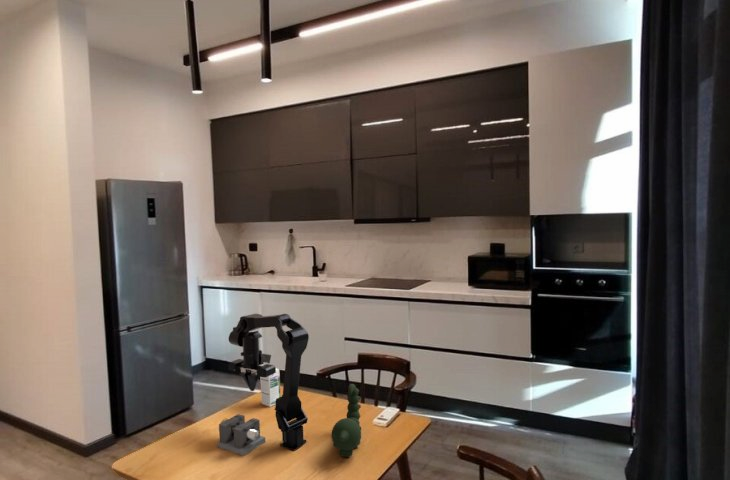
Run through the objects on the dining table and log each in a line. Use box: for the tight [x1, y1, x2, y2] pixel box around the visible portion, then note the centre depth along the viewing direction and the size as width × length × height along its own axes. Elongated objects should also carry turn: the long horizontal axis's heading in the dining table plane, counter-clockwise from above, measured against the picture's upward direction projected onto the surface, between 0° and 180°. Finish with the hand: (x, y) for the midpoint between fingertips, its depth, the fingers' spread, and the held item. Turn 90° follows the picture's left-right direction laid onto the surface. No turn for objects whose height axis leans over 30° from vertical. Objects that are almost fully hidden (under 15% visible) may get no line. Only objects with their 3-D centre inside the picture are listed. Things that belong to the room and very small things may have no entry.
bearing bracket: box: [217, 413, 266, 457], centre depth 144 cm, size 12×10×8 cm
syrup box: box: [259, 367, 282, 408], centre depth 177 cm, size 6×6×14 cm
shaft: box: [220, 418, 259, 441], centre depth 144 cm, size 15×5×5 cm, turn 60°
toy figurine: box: [331, 383, 362, 458], centre depth 141 cm, size 9×19×25 cm
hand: (252, 390), depth 157 cm, fingers closed
